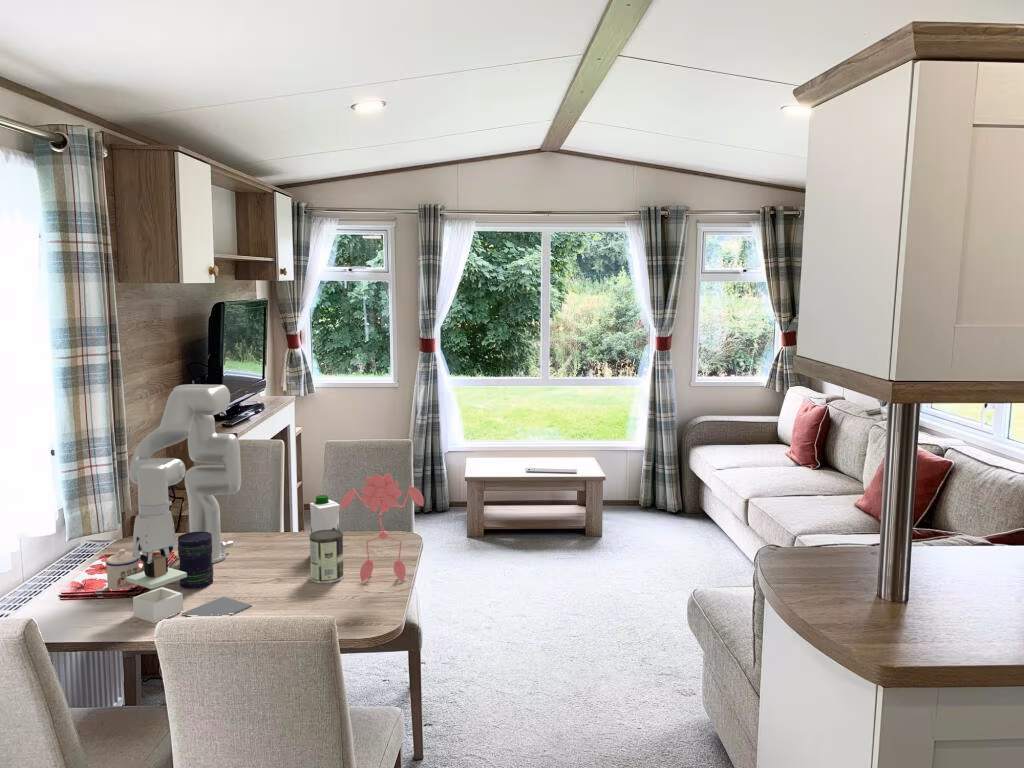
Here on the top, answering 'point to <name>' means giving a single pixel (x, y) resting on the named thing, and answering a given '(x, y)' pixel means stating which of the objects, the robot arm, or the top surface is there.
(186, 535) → the storage jar
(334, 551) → the coffee can
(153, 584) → the lid
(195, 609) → the mat
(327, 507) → the milk carton
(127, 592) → the top surface
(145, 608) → the white open box
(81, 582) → the top surface
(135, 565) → the teacup with lid
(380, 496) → the figurine
